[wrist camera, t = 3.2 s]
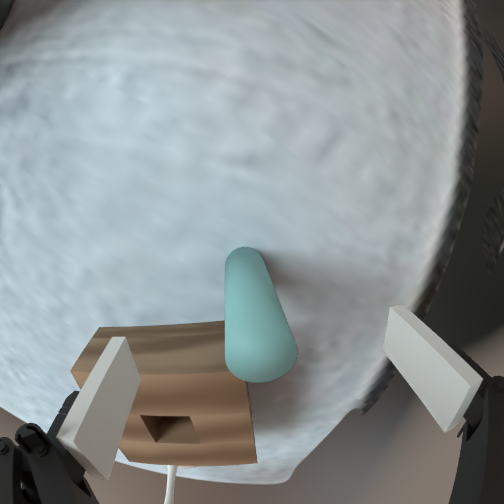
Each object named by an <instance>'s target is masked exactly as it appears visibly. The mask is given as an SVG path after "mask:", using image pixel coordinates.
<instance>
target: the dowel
mask: <svg viewBox="0 0 504 504" xmlns="http://www.w3.org/2000/svg"><path fill="white" fill-rule="evenodd" d="M297 354H298V351H297V345H296V343H295V340H294V338H293V335H292V332H291V330H290V327H289V325H288V322H287V319H286V317H285V314H284V312H283V309H282V306H281V304H280V301H279V299H278V296H277V294H276V291H275V288H274V286H273V283H272V281H271V278H270V276H269V273H268V270H267V268H266V265H265V263H264V260H263V258H262V256H261V254H260V253H259V252H258V251H256V250H255V249H252V248H249V247H241V248H238V249H236V250H234V251H233V252H231V253H230V254H229V256H228V258H227V260H226V264H225V362H226V365H227V367H228V369H229V370H230V372H231V373H232V374H233V375H235V376H236V377H238V378H239V379H241V380H244V381H247V382H253V383H263V382H269V381H273V380H275V379H278V378H280V377H281V376H283V375H285V374H286V373H287V372H288V371H289V370H290V369H291V368H292V367H293V365H294V364H295V361H296V359H297Z"/></svg>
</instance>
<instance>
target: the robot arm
mask: <svg viewBox="0 0 504 504" xmlns="http://www.w3.org/2000/svg"><path fill="white" fill-rule="evenodd" d="M12 2H13V0H0V28H1V27H2V25H3V23H4V21H5V19H6V17H7V15H8V13H9V11H10V8H11V6H12ZM383 351H384V353H385V354H386V355H387V356H388V358H389V359H390V360H391V361H392V363H393V364H394V365H395V367H396V368H397V369H398V371H399V372H400V373H401V374H402V376H403V377H404V378H405V380H406V381H407V382H408V384H409V385H410V386H411V388H412V389H413V390H414V392H415V393H416V394H417V396H418V397H419V398H420V399H421V401H422V402H423V404H424V405H425V406H426V408H427V409H428V410H429V412H430V413H431V414H432V416H433V417H434V419H435V420H436V422H437V423H438V424H439V426H440V427H441V428H442V430H443V431H444V433H446V432H447V431H449V430H451V429H453V428H454V427H456V426H458V424H459V423H460V421H461V419H462V417H464V418H465V419H466V422H465V424H464V425H463V427H462V428H461V430H460V431H459V433H458V435H457V437H459V436H460V435H461V433H462V432H463V437H462V445H461V451H460V457H459V463H458V468H457V473H456V478H455V482H454V486H453V490H452V494H451V497H450V501H449V504H504V377H502V376H494V377H490V376H489V375H488V374H487V373H486V372H485V371H484V370H483V369H482V368H481V367H480V366H479V365H478V364H477V363H475V362H474V361H473V360H472V359H471V358H470V357H469V356H468V355H466V353H465V352H464V351H463V350H461V349H460V348H459V347H457V346H455V345H453V344H448V345H447V344H446V343H445V342H444V341H443V340H442V339H441V338H440V337H438V336H437V335H436V334H435V333H434V332H433V331H432V330H431V329H430V328H429V327H427V326H426V325H425V324H424V323H423V322H422V321H421V320H420V319H418V318H417V317H416V316H415V315H414V314H413V313H412V312H410V311H409V310H408V309H407V308H406V307H405V306H403V305H402V304H399V305H395V306H390V309H389V315H388V322H387V328H386V334H385V339H384V344H383ZM140 381H141V377H140V374H139V372H138V369H137V367H136V364H135V361H134V359H133V356H132V353H131V351H130V348H129V345H128V342H127V339H126V337H112V338H111V340H110V341H109V343H108V345H107V346H106V348H105V350H104V351H103V353H102V354H101V356H100V358H99V359H98V361H97V363H96V364H95V366H94V368H93V370H92V371H91V373H90V375H89V376H88V378H87V380H86V382H85V383H84V385H83V387H82V389H81V391H74V392H73V393H71V394H70V395H69V396H68V397H67V398H66V400H65V402H64V403H63V405H62V407H61V409H60V411H59V414H57V416H56V418H55V420H54V421H53V423H52V425H51V427H50V429H49V431H48V433H47V435H46V434H45V433H44V432H43V430H42V429H41V428H40V427H39V426H38V425H37V424H34V423H27V424H24V425H23V426H21V427H20V428H19V429H18V430H17V432H16V434H15V440H16V442H17V443H18V444H19V445H20V446H16V445H15V444H14V443H13V442H12V440H11V439H9V438H7V437H2V438H0V504H99V502H98V501H97V499H96V497H95V495H94V493H93V492H92V490H91V488H90V486H89V484H88V482H87V480H86V479H85V477H84V473H85V470H86V471H87V472H88V473H89V474H90V475H91V476H92V477H94V478H97V479H101V480H106V481H109V478H110V474H111V470H112V467H113V464H114V460H115V457H116V454H117V450H118V447H119V444H120V440H121V437H122V434H123V431H124V428H125V425H126V422H127V419H128V416H129V413H130V410H131V407H132V404H133V401H134V398H135V395H136V392H137V390H138V387H139V384H140ZM21 483H22V488H21Z"/></svg>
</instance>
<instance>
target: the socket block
mask: <svg viewBox="0 0 504 504" xmlns="http://www.w3.org/2000/svg"><path fill="white" fill-rule="evenodd" d="M112 337H126V339H127V342H128V345H129V348H130V351H131V353H132V356H133V359H134V361H135V364H136V367H137V369H138V372H139V374H140V377H141V381H140V384H139V387H138V390H137V392H136V395H135V398H134V401H133V404H132V407H131V410H130V413H129V416H128V419H127V422H126V425H125V428H124V431H123V434H122V437H121V440H120V444H119V447H118V448H119V449H120V450H121V451H122V453H123V454H124V455H125V457H126V458H127V459H128V460H129V461H130V462H138V463H147V464H158V465H174V466H226V465H241V464H253V463H257V455H256V447H255V439H254V431H253V423H252V415H251V408H250V401H249V393H248V386H247V381H244V380H241V379H239V378H238V377H236V376H235V375H233V374H232V373H231V372H230V370H229V369H228V367H227V365H226V362H225V321H216V322H204V323H191V324H177V325H160V326H138V327H99V328H98V330H97V331H96V333H95V334H94V336H93V337H92V339H91V340H90V342H89V343H88V344H87V346H86V347H85V349H84V350H83V352H82V353H81V355H80V357H79V358H78V360H77V361H76V363H75V364H74V366H73V367H72V369H71V370H70V371H71V373H72V375H73V377H74V378H75V380H76V382H77V384H78V386H79V388H80V389H82V387H83V385H84V383H85V382H86V380H87V378H88V376H89V375H90V373H91V371H92V370H93V368H94V366H95V364H96V363H97V361H98V359H99V358H100V356H101V354H102V353H103V351H104V350H105V348H106V346H107V345H108V343H109V341H110V340H111V338H112Z"/></svg>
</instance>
